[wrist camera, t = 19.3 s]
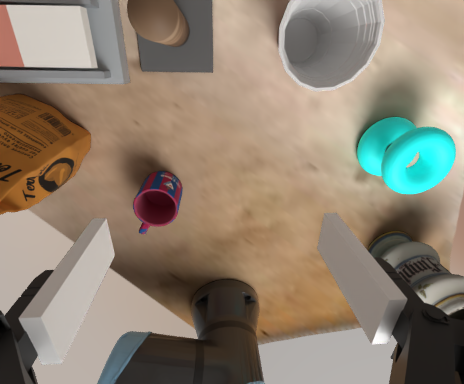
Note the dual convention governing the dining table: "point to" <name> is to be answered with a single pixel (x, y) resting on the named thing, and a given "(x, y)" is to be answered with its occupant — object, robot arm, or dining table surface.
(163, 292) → the dining table surface
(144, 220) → the cup
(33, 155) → the coffee package
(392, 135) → the donuts
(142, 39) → the mat
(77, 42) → the rocker
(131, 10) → the wooden pestle
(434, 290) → the apothecary jar
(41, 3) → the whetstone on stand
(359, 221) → the dining table surface
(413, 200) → the dining table surface
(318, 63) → the plastic cup
